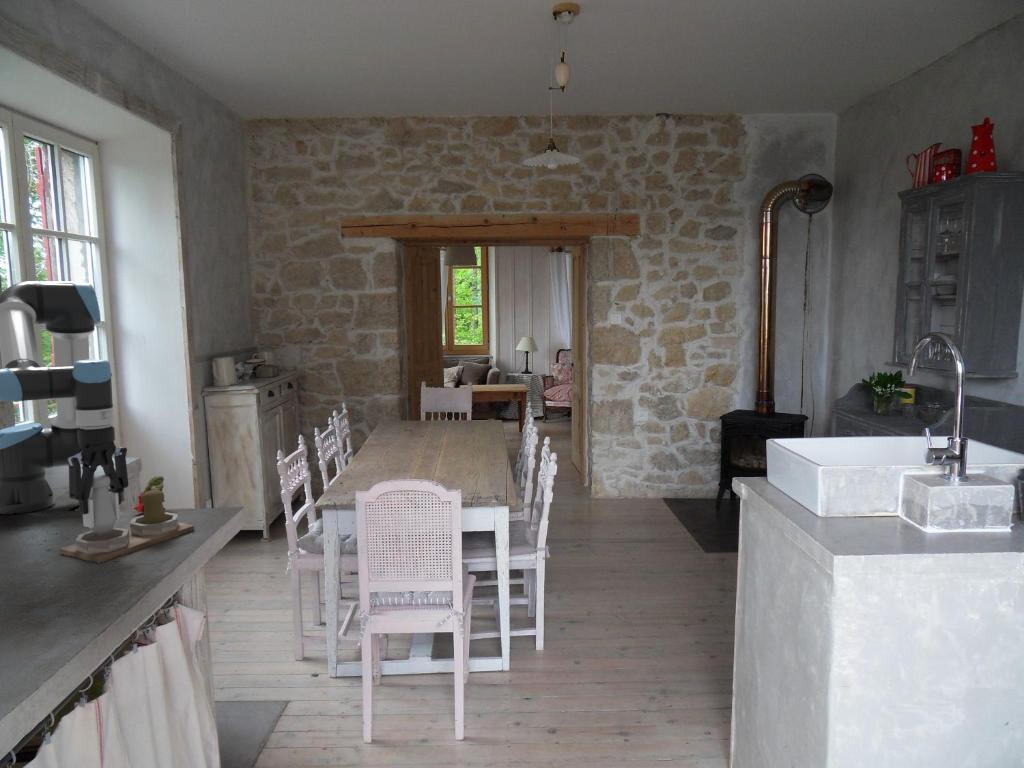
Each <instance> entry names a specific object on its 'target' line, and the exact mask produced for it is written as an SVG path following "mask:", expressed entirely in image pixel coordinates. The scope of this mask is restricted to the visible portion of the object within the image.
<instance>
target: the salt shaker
mask: <svg viewBox="0 0 1024 768" xmlns="http://www.w3.org/2000/svg"><path fill="white" fill-rule="evenodd" d="M109 485H110V478H109V477H108V476H105V474H103V475H102V474H101V475H94V477H93V482H92V486H91V489H92V494H91V497H90V498H91V499H92V500H93V515H94V527H92V528H90V530H91V531H93V532H95V533H102V532H108V531H110V530H112V529H113V528H115V524H116V521H117V520H116V516H115V512H114V508H113V505H112V501H111V497H110V493H109V492H110V490H109V489H110V488H109V487H110V486H109ZM108 486H109V487H108Z"/></svg>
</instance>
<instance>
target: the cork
mask: <svg viewBox="0 0 1024 768" xmlns="http://www.w3.org/2000/svg"><path fill="white" fill-rule="evenodd" d="M142 493H143V492H142ZM164 500H165V493H164V492H163V490H162V491H160V490H150V491H147V492H145V493H143V495H142V497H141V501H142V503H143V504H144V513H143V515H144V517H143V524H144V525H145V524H156V523H162V522H165V521H166V517H165V512H166V511H164V508H165V507H164V502H163V501H164ZM163 507H164V508H163Z"/></svg>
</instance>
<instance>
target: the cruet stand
mask: <svg viewBox="0 0 1024 768" xmlns="http://www.w3.org/2000/svg"><path fill="white" fill-rule="evenodd" d="M164 512H165V517H166V521H165V522H162V523H156V524H145V525H144V524H143V517H144V514H143V515H142V514H141V515H140V516H136V517H133V518H132V519H131V521H130V522H129V526H128V527H123V528H122V527H113V529H112V530H110V531H108V532H102V533H95V532H93V531H92V530H90V531H87V532H84V533H80V534H78V536H77V537H76V539H74V541H75V543H73V544H71V545H67V546H63V547H61V548H59V549H58V550H59V554H60V555H63V554H64V556H68V557H71V556H72V557H73V558H75V557H76V559H80V560H84V561H88V560H89V561H88V562H92V561H93V562H92V563H96V562H97V563H96V564H101V562H102V563H104V561H105V562H107V561H110V560H113V559H115V557H116V558H119V557H121V555H122V556H125V555H127V554H130V553H132V551H133V552H135V550H136V551H138V549H139V550H141V548H142V549H144V548H147V547H150V546H152V544H153V545H155V543H156V544H158V542H159V543H161V541H162V542H164V541H167V540H170V539H172V537H173V538H176V537H178V536H177V535H179V536H181V535H180V534H182V535H184V534H186V532H187V533H189V531H190V532H192V530H193V531H195V525H193V524H188V523H184V522H183V523H182V522H179V514H178V513H173V512H167V511H164ZM183 533H184V534H183ZM175 536H176V537H175ZM169 538H170V539H169ZM166 539H167V540H166ZM149 545H150V546H149ZM129 552H130V553H129ZM124 554H125V555H124ZM118 556H119V557H118ZM112 558H113V559H112ZM109 559H110V560H109Z"/></svg>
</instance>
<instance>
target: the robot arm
mask: <svg viewBox="0 0 1024 768" xmlns="http://www.w3.org/2000/svg"><path fill="white" fill-rule="evenodd" d="M95 290H96V289H95V288H94V286H93V285H92V284H91V283H89V282H81V281H74V280H73V281H71V280H70V281H69V280H68V281H64V280H63V281H57V280H56V281H51V280H49V281H47V280H45V281H38V280H36V281H35V280H28V281H21V282H17V283H16V284H15V283H14V284H13V285H10V286H9V287H7V288H6V289H4V290H3V291H2V292H0V358H1V365H2V368H0V402H16V403H18V402H27V401H37V400H40V401H41V400H49V399H50V400H51V399H52V400H53V399H54V400H55V399H56V400H55V401H56V414H57V415H56V416H55V417H54V418H53V419H52V420H51V426H49V427H44V426H43V425H42V424H41V422H34V423H24V424H17V425H13V426H9V427H5V428H3V429H0V515H15V514H14V513H18V514H25V512H26V513H31V512H35V511H41V510H43V509H47V508H49V507H51V506H53V505H55V493H54V492H53V489H52V488H51V485H50V484H49V482H48V479H47V477H46V476H47V475H46V469H49V468H50V469H52V468H60V467H68V485H69V487H68V490H69V493H68V494H69V499H71V500H75V501H78V509H79V510H78V511H79V513H80V515H82V520H83V521H82V522H83V527H87V528H90V529H91V528H92V527H94V515H93V500H92V499H90V495H91V490H92V488H91V486H92V482H93V477H95V472H96V471H97V469H98V467H101V468H102V470H103V473H104V476H108V477H109V478H110V485H109V489H110V491H109V493H110V497H111V501H112V505H113V508H114V512H115V516H116V521H118V520H121V518H120V517H121V516H120V505H121V504H122V493H123V492H124V491H125V489H126V488H128V487H129V477H128V475H129V474H128V468H127V467H128V466H127V458H126V457H127V451H128V448H127V447H125V446H124V447H123V446H116V444H115V440H116V435H115V434H116V431H115V426H113V424H114V423H115V421H114V420H115V418H114V416H115V415H114V404H113V388H112V387H113V385H112V384H113V383H112V382H113V381H112V377H113V372H112V369H111V362H110V361H108V360H106V359H91V358H90V340H89V339H90V337H89V336H90V335H91V334H93V332H94V331H95V325H98V324H100V323H101V312H100V306H99V301H98V297H97V294H96V291H95ZM34 325H45V331H46V332H48V333H49V334H50V335H51V336H52V340H53V341H52V342H53V343H52V345H53V359H54V360H53V361H54V366H44V367H43V366H41V362H40V355H39V350H38V344H37V339H36V334H35V327H34ZM113 456H114V460H113ZM81 465H82V467H81Z"/></svg>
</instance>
